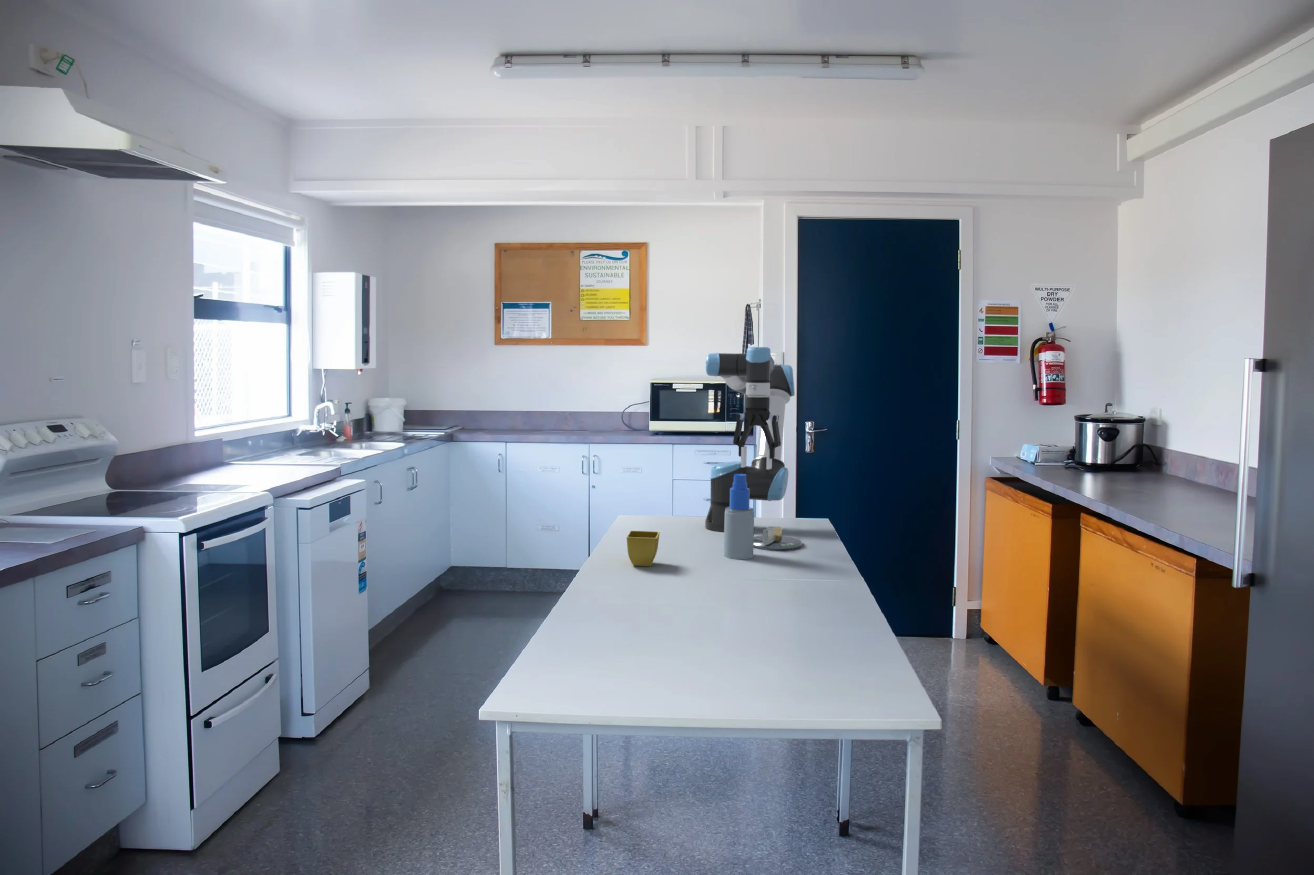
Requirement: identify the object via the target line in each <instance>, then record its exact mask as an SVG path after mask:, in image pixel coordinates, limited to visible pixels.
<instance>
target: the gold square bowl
mask: <svg viewBox="0 0 1314 875" xmlns="http://www.w3.org/2000/svg"><path fill="white" fill-rule="evenodd" d="M660 533H661V532H660V531H651V530H650V531H649V530H647V531H646V530H629V532H628V534H627V535H626V546H627V553H628V558H629V560H630V563H631V564H632V566H634V567H651V566H652V565H653V561H655V558H656V555H657V552H658V549H659V548H658V547H659V540H660Z"/></svg>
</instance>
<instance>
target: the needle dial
mask: <svg viewBox="0 0 1314 875" xmlns="http://www.w3.org/2000/svg"><path fill="white" fill-rule="evenodd" d="M762 535H763V544H770V543H772V542H778V541H782V536H783V527H781V526H775V525H774V526H772V525H771V526H768V527H766V528H764V529H762Z"/></svg>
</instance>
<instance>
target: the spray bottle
mask: <svg viewBox="0 0 1314 875" xmlns="http://www.w3.org/2000/svg"><path fill="white" fill-rule="evenodd" d="M750 500H751V499H750V489H749V488H747V483H746V474H734V482H733V488H730V507H727V508H726V509H725V524H724V531H723V532H724V536H723V540H724V541H723V556H724V557H726V558H728V559H733V560H748V559H752V558H754V537H755V534H754V533H755V511H754V510H755V509H754V508H753V507H750Z"/></svg>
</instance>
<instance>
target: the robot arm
mask: <svg viewBox="0 0 1314 875" xmlns="http://www.w3.org/2000/svg"><path fill="white" fill-rule="evenodd" d="M705 372H706V375H707V376H709V377H711V376H712V377H721V379H723V380H725V383H726V385H727V386H728V387H729V388H730V389H731V390H733V391H736V392H738V393H740V394H743V395H746V397H745V410H744V412H743V413H736V415H735V418H736V424H735V428H734V434H733V440H732V443H733V445H736V446H737V447H738V457H740V460H739V461H738V460H737V461H725V462H720V463H716V464H714V465H713V466H712V467H711V470H710V477H709V478H710V506H709V508H708V511H707V516H706V518H705V522H704V523H705V524H704V525H705V526H704V528H705V529H708V530H710V531H714V532H715V531H716V532H724V524H725V509H726V508H727V507H730V488H733V482H734V474H746V483H747V488H749V489H750V500H754V501H768V502H771V501H773V502H774V501H775V502H776V501H781V500H783V498H784V497H785V494H786V492H787V491H786V490H787V487H788V482H789V480H788V479H789V468H787V467H785V465H786V464H785V462H784V461H783V460H782V450H783V437H784V427H785V426H784V425H785V414H786V404H788V403H789V402H790V400H791V397H795V381H794V370H793V367H792V366H791V365H789V364H782V363H780V364H775V360H774V359H773V357H772V356H771V348H770V347H768V346H767V347H765V346H750V347H747V349H746V353H726V352H723V353H719V352H716V353H715V352H713V353H708V354H707V355H706V358H705ZM745 419H746V424H745V428H744V430H742V429H743V424H744V420H745ZM754 426H757V427H759V430H758V439H757V450H756V457H755V458H753V459H752V460H751V465H750V466H749V465H747V459H748V458H747V454H748V452H747V449H748V448H747V447H748V446H746V442H747V440H748V438H749V435H750V433H751V430H752V428H754ZM742 431H743V432H742Z"/></svg>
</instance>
